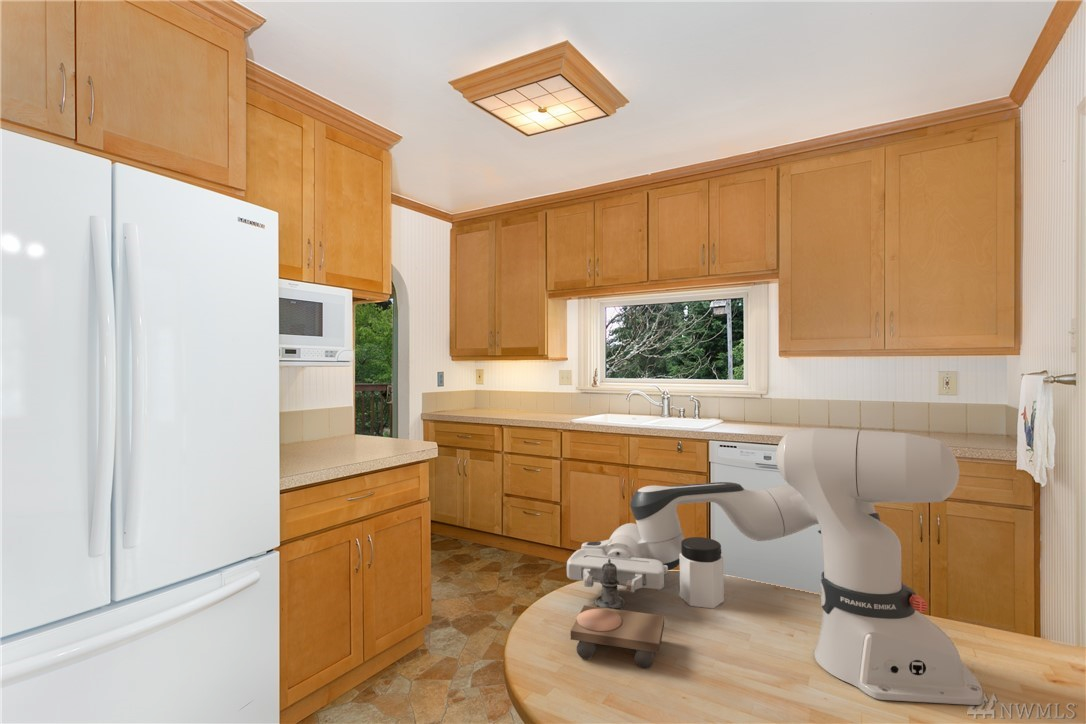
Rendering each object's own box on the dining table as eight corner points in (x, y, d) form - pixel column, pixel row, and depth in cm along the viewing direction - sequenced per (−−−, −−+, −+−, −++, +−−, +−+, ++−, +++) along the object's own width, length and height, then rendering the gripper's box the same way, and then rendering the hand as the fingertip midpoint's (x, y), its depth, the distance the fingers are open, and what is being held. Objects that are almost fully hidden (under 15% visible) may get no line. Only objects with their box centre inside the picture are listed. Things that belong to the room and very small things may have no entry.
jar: (730, 606, 110) (730, 548, 110) (694, 611, 108) (694, 552, 108) (708, 588, 119) (707, 534, 119) (674, 592, 117) (673, 538, 117)
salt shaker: (627, 626, 102) (626, 564, 102) (596, 627, 102) (595, 564, 102) (623, 612, 108) (622, 553, 108) (594, 612, 108) (593, 553, 108)
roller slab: (664, 640, 97) (664, 614, 97) (659, 671, 88) (658, 642, 88) (584, 628, 102) (584, 604, 102) (570, 656, 92) (570, 629, 92)
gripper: (669, 579, 114) (663, 608, 101) (576, 569, 121) (559, 595, 108) (668, 550, 114) (662, 575, 101) (576, 541, 121) (559, 564, 108)
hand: (608, 585), depth 104 cm, fingers open, 7 cm apart
